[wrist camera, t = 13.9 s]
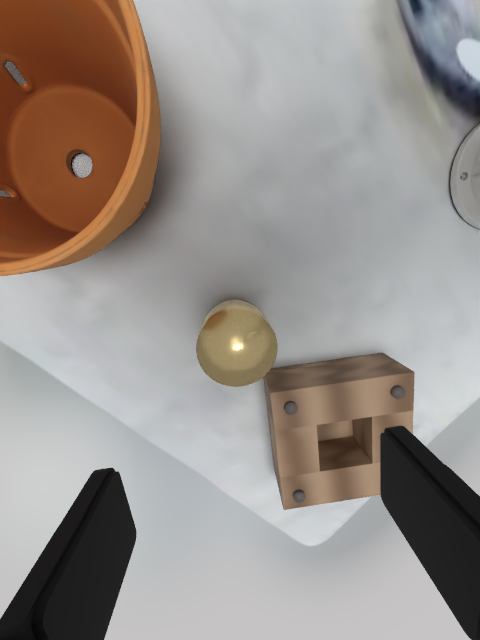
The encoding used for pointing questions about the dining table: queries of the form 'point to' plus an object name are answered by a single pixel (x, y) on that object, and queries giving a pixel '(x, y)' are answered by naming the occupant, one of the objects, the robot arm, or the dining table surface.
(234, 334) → the yellow translucent cylinder
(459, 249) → the dining table surface
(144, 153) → the flower pot
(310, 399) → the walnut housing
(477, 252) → the dining table surface
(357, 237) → the dining table surface
